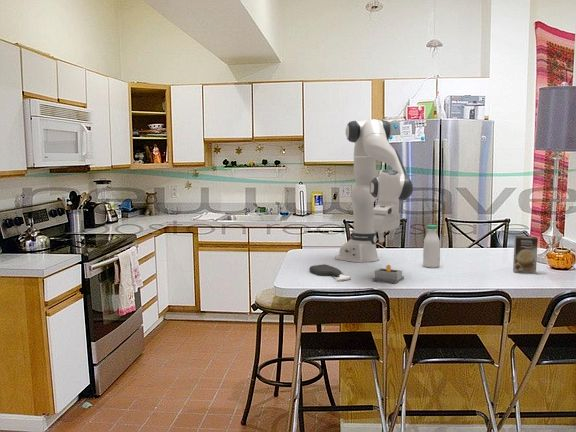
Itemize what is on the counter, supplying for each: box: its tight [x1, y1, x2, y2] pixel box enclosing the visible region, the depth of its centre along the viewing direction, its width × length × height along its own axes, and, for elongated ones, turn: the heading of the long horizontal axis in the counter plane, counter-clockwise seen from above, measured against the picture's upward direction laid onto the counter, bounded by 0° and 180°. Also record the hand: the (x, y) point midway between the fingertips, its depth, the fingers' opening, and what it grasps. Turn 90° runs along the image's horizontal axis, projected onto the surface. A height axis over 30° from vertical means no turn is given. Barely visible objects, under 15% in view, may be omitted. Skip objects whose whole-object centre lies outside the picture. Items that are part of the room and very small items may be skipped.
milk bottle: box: [422, 224, 441, 269], centre depth 247 cm, size 8×8×20 cm
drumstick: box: [308, 263, 352, 282], centre depth 232 cm, size 3×11×25 cm
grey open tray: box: [374, 267, 403, 280], centre depth 221 cm, size 10×6×3 cm, turn 57°
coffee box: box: [512, 235, 539, 275], centre depth 232 cm, size 9×6×16 cm
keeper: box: [372, 264, 405, 285], centre depth 221 cm, size 10×10×7 cm
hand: (386, 240), depth 220 cm, fingers open, 8 cm apart
